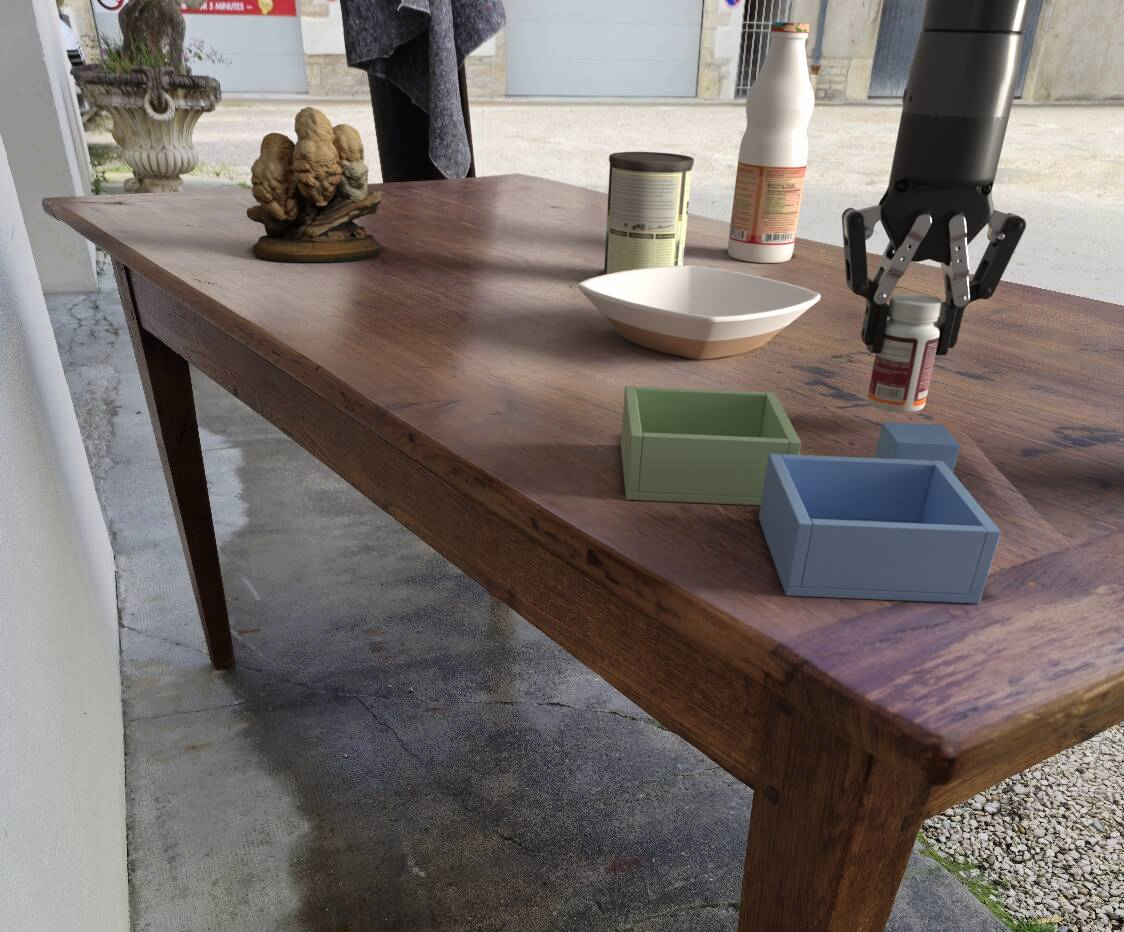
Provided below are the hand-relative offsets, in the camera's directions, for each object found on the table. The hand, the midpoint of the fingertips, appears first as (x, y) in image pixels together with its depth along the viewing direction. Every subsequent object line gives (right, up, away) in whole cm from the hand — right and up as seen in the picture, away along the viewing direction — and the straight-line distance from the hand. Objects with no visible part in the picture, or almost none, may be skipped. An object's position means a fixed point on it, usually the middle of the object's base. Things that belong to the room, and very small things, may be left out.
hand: (906, 351), depth 85 cm
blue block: (-3, -14, -9) cm, 16 cm away
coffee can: (-18, +28, +49) cm, 59 cm away
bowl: (-14, +10, +25) cm, 30 cm away
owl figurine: (-61, +34, +55) cm, 89 cm away
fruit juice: (0, +39, +66) cm, 76 cm away
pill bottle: (0, -4, +3) cm, 5 cm away
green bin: (-18, -12, -7) cm, 23 cm away
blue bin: (-9, -20, -19) cm, 29 cm away
